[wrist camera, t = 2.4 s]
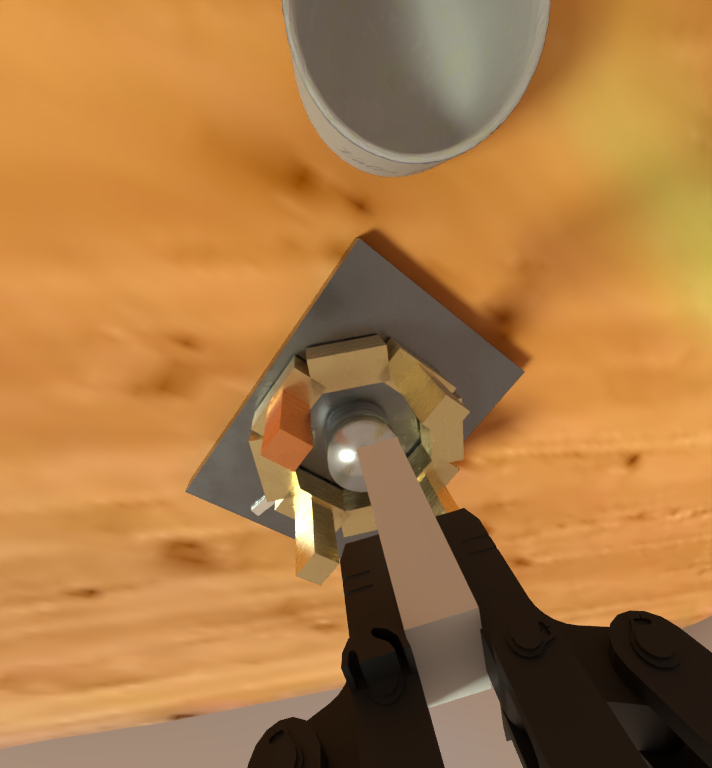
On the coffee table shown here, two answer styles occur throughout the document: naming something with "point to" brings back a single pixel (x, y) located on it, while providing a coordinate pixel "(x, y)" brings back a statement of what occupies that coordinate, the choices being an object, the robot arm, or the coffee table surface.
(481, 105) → the teacup
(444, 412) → the ring nut
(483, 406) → the housing
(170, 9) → the coffee table surface
